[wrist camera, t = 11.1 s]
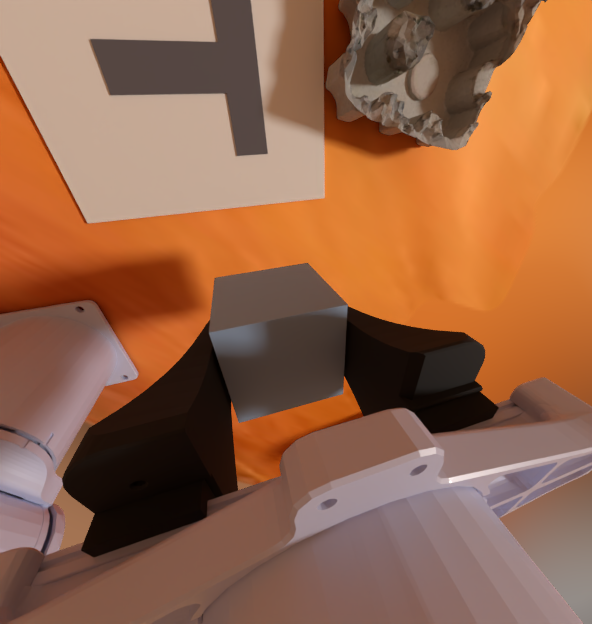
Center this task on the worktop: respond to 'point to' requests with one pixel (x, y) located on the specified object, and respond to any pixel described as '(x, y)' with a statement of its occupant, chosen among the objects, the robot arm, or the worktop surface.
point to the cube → (278, 339)
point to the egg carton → (424, 63)
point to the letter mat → (173, 100)
